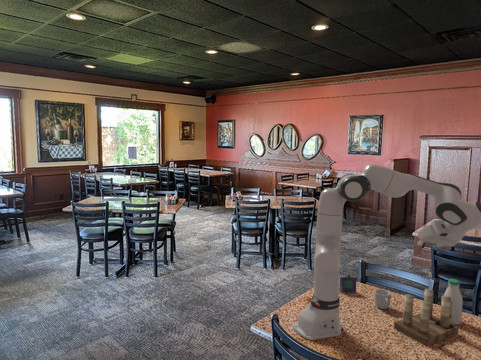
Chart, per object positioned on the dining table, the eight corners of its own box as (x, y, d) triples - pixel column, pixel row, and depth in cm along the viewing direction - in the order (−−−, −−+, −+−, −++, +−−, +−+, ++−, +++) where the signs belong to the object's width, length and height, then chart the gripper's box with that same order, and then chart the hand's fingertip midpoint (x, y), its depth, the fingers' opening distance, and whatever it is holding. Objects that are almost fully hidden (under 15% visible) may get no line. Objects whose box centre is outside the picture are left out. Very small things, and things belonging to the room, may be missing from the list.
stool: (426, 346, 143) (428, 309, 141) (394, 328, 157) (395, 294, 156) (458, 333, 153) (460, 298, 151) (424, 317, 167) (426, 285, 165)
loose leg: (449, 334, 152) (451, 299, 150) (439, 332, 154) (441, 297, 152) (448, 330, 155) (450, 296, 154) (439, 328, 157) (441, 294, 155)
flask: (339, 292, 197) (340, 273, 196) (338, 290, 199) (339, 272, 199) (356, 292, 196) (357, 274, 195) (355, 290, 198) (355, 272, 198)
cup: (395, 313, 171) (396, 297, 170) (379, 313, 171) (380, 297, 171) (386, 303, 182) (387, 289, 181) (371, 303, 182) (372, 288, 181)
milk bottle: (458, 318, 166) (461, 278, 164) (463, 326, 159) (465, 284, 157) (440, 316, 168) (442, 276, 167) (444, 323, 161) (446, 282, 159)
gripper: (463, 227, 154) (439, 243, 163) (430, 219, 147) (407, 236, 156) (471, 239, 150) (445, 255, 159) (437, 232, 143) (412, 248, 152)
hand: (426, 245), depth 157 cm, fingers open, 8 cm apart
